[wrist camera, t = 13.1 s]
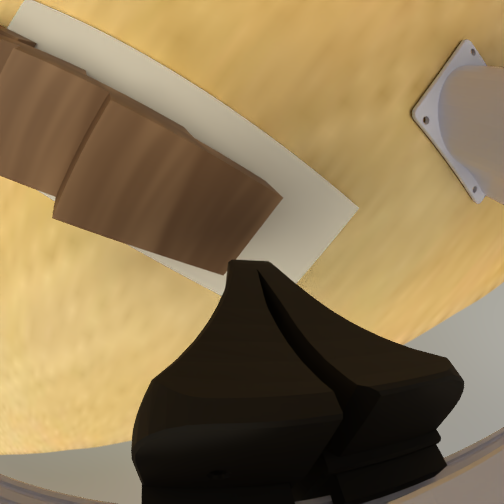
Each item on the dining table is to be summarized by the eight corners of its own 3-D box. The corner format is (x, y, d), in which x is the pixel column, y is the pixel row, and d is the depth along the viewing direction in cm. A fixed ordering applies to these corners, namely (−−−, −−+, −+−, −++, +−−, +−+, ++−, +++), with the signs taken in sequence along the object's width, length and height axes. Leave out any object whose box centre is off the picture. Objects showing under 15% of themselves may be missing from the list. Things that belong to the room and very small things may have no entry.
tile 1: (283, 197, 15) (111, 99, 9) (223, 275, 17) (52, 218, 11) (266, 181, 16) (109, 91, 10) (211, 254, 18) (55, 196, 12)
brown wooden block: (194, 138, 13) (13, 47, 7) (137, 227, 15) (-33, 162, 9) (184, 127, 14) (23, 46, 8) (132, 208, 16) (-21, 148, 10)
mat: (354, 204, 18) (359, 208, 18) (264, 312, 21) (265, 318, 20) (30, -1, 10) (26, -3, 9) (-35, 136, 12) (-41, 138, 12)
